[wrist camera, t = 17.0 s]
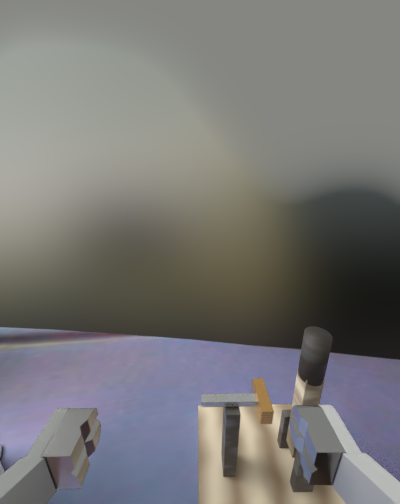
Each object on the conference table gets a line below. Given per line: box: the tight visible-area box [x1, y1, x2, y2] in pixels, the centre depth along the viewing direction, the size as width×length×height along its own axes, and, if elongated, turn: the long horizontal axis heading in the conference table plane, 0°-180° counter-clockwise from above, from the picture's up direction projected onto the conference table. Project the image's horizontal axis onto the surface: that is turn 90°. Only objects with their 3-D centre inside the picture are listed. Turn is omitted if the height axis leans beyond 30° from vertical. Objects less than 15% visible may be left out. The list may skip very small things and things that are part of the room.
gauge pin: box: [202, 378, 274, 424], centre depth 31 cm, size 10×5×2 cm, turn 91°
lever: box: [286, 326, 333, 458], centre depth 31 cm, size 3×3×22 cm
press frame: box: [198, 404, 346, 504], centre depth 34 cm, size 24×20×16 cm
